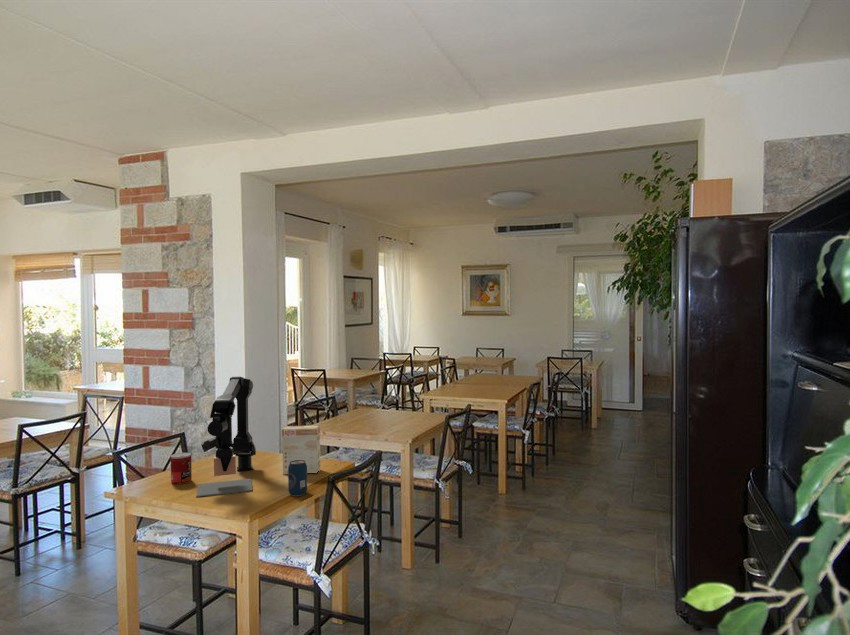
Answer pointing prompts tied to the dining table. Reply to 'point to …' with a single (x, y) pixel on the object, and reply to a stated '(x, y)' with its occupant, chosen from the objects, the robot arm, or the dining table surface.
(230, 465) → the slab
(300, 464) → the soda can
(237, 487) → the mat
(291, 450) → the coffeecake box
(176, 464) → the canned food
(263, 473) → the dining table surface
